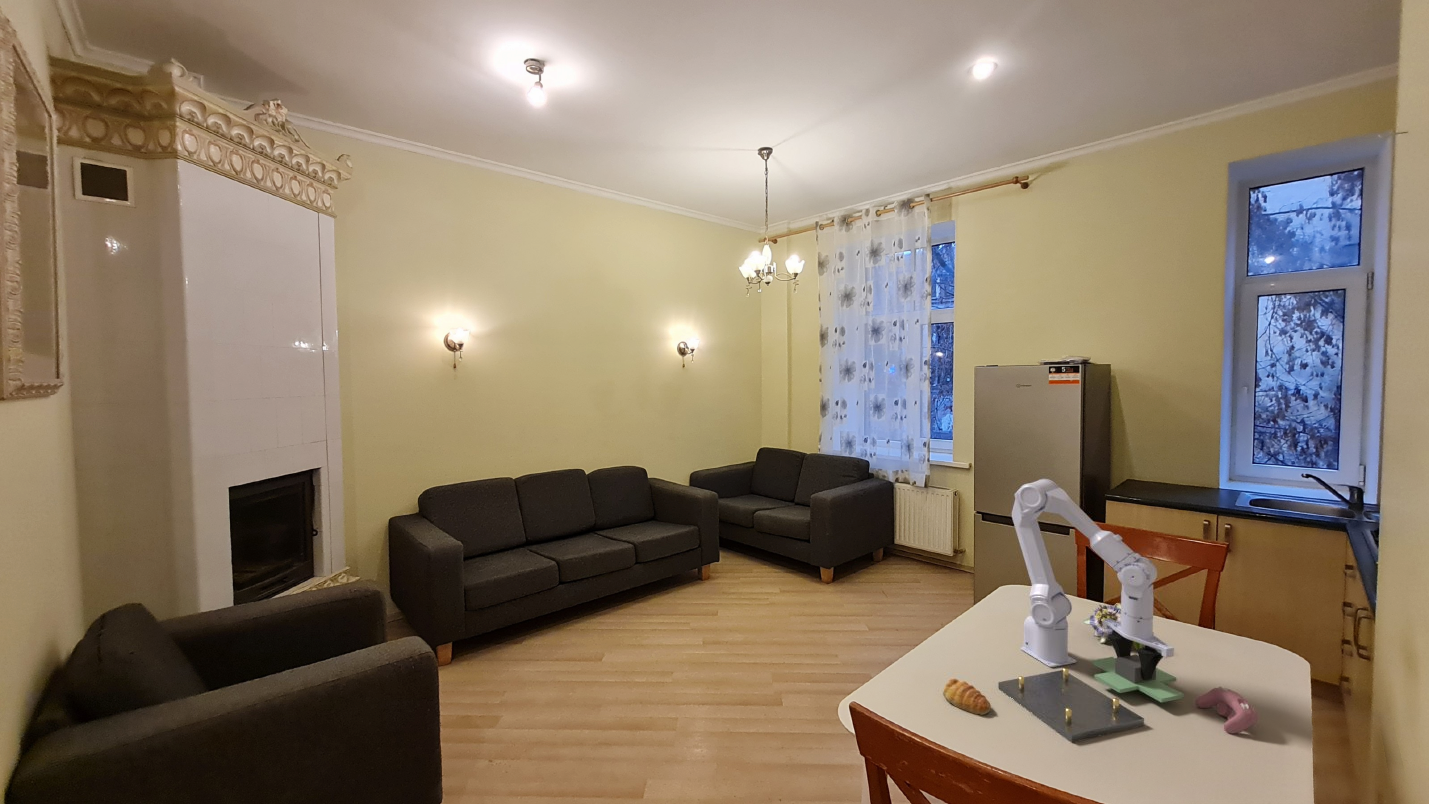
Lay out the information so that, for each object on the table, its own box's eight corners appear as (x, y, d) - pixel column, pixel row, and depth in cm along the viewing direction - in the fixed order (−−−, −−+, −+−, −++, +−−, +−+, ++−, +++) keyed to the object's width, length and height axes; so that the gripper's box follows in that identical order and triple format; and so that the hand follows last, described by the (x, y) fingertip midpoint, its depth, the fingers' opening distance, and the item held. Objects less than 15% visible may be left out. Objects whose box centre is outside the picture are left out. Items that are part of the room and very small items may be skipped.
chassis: (998, 688, 125) (998, 671, 125) (1063, 676, 130) (1063, 659, 130) (1071, 742, 107) (1071, 722, 107) (1143, 725, 111) (1144, 706, 111)
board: (1075, 666, 130) (1075, 649, 130) (1128, 656, 134) (1128, 639, 134) (1142, 706, 115) (1143, 686, 114) (1201, 693, 118) (1201, 674, 118)
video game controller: (1248, 744, 108) (1268, 714, 107) (1224, 732, 108) (1244, 702, 107) (1213, 713, 117) (1231, 686, 116) (1191, 702, 118) (1209, 675, 117)
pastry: (997, 709, 118) (997, 692, 118) (979, 721, 114) (979, 703, 114) (957, 689, 126) (957, 673, 126) (939, 699, 122) (939, 683, 122)
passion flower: (1103, 663, 145) (1072, 618, 150) (1125, 645, 150) (1094, 602, 155) (1142, 656, 136) (1108, 609, 141) (1164, 637, 141) (1130, 592, 146)
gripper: (1185, 625, 117) (1183, 687, 118) (1119, 598, 131) (1118, 654, 132) (1159, 630, 116) (1157, 693, 116) (1096, 602, 130) (1094, 658, 130)
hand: (1135, 672), depth 124 cm, fingers closed on board, 4 cm apart
